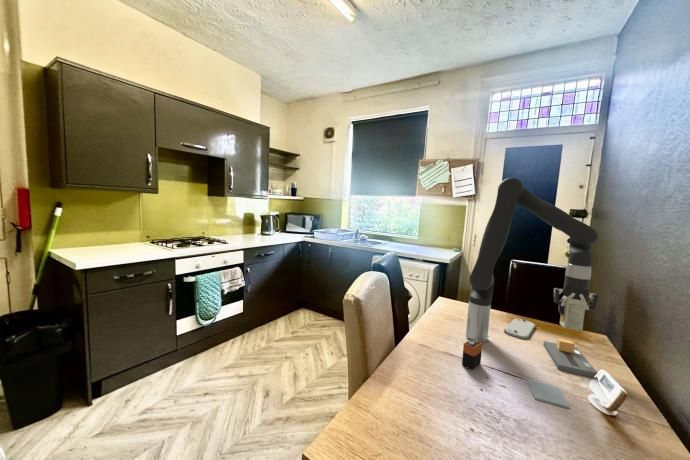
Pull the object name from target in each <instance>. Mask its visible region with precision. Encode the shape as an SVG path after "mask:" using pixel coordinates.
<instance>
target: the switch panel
mask: <svg viewBox="0 0 690 460" xmlns="http://www.w3.org/2000/svg"><path fill="white" fill-rule="evenodd" d="M542 346H543V347H544V349H545V351H546V352H547V354H548V355H549V357H550V359H551V361H552V362H553V363H554V366H555V367H556V369H557V370H559V371H563V372H567V373H572V374H576V375H580V376H584V377H585V376H586V377H588V378H593V377H594V376H595V375H596V374H597V373H598V371H597V370H596V369H595V368H594V367H593V365H592V364H591V363H590V362H589V361H588V359H587V358H586V357H585V355H584V354H583V353H582V352H581V351H580V349H578V347H576V346H574V353H570V352H565V351H560V350H558V348H557V342H552V341H546V340H544V341H543V345H542Z"/></svg>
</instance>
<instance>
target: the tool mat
mask: <svg viewBox="0 0 690 460" xmlns="http://www.w3.org/2000/svg"><path fill="white" fill-rule="evenodd" d="M527 383H528V385H529V388H530V391H531V393H532V396H533V398H534V400H537V401H540V402H544V403H548V404H552V405H555V406H558V407H561V408H562V407H563V408H565V409H570V406H569V403H568V401H567V400H566V398H565V396H564V394H563V392H562V390H561V388H560V387H559V386H557V385H552V384H549V383H548V384H547V383H543V382H539V381H536V380H532V379H527Z"/></svg>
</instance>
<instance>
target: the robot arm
mask: <svg viewBox="0 0 690 460" xmlns="http://www.w3.org/2000/svg"><path fill="white" fill-rule="evenodd" d="M496 194H497V195H496V199H495V204H494V207H493V211H492V213H491V215H490V217H489V218H488V222H486V223H487V224H486V226H485V229H484V233H483V235H482V239H481V243H480V246H479V251H478V256H477V259H476V262H475V264H474V266H473V269H472V271H471V273H470V275H469V284H470V286H471V289H470V294H469V297H468V308H467V316H466V325H465V338H466V337H467V338H466V339H469V340H471V339H477V340H478V342H481V343H485V342H487V341H488V338H489V326H490V316H491V307H492V301H493V295H494V289H495V276H494V269H495V266H496V263H497V261H498V259H499V257H500V255H501V254H502V252H503V249H504V247H505V245H506V243H507V239H508V236H509V233H510V229H511V225H512V219H513V214H514V212H515V209H516V206H517V205H519V206H521V207H523V208H524V209H526V210H527V211H529V212H530V213H531V214H533V215H535V216H536V217H538V218H539V219H540V220H542V221H543V222H545V223H546V224H547V225H549V226H551V227H552V228H554V229H556V230H557V231H560V232H562V233H564V234H565V235H567V236H568V237H569V253H568V259H567V265H566V268H565V274H564V281H563V282H564V283H563V286H562V288H557V287H554V288H553V302H554V303H555V304H557V305H558V309H557V311H558V313H559V314H560V316H561V315H564V305H565V303H566V300H567V299H578V300H582V301H586V299H587V298H590V299H589V302H587V301H586V305H585V313H584V319H586V318H588V313H589V310H596V306H597V303H598V302H599V301H598V299H599V298H600V297H599V295H598V294H596V292H595V293H594V292H593V293H592V292H590V291H589V289H590V284H591V277H592V266H593V265H592V263H593V252H592V250H591V248H592V244H594V243H596V242H597V241H598V239H599V233H598V232H597V230H596V229H595V228H593V227H592V226H590V225H588V224H586V223H584V222H582V221H581V220H578V219H577V218H575V217H573V216H572V215H570V214H569V213H567V212H566V211H564V210H563V209H561V208H559V207H557V206H556V205H553V204H552V203H550V202H548V201H546V200H544V199H542V198H541V197H538V196H536V195H535V194H533V193H532V192H531V191H530V190H528V189H527V188H526V187H525V186H524V184H523V181H521V180H520V179H518V178H516V177H508V178H505V179H503V180H502V181H501V182H500V183H499V185H498V187H497V193H496ZM562 293H563V296H566V297H567V298H566V299H565V298H564V297H563V296H562V297H561V299H560V295H561V294H562ZM588 303H589V304H588Z"/></svg>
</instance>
